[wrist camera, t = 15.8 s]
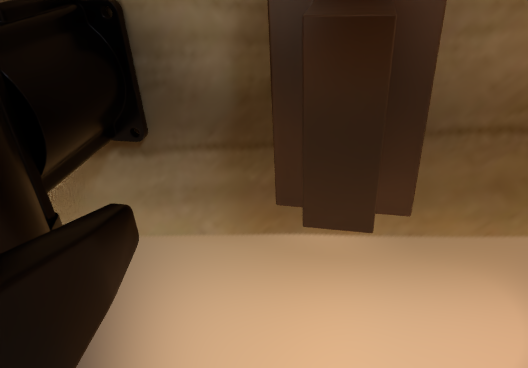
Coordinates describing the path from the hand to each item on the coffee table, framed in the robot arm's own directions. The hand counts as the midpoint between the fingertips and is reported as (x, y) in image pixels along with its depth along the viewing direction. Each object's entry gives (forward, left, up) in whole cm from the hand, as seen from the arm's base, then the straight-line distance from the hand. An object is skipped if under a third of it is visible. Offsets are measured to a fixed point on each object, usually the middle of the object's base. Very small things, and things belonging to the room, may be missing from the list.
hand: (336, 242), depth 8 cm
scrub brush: (0, 0, -11) cm, 11 cm away
